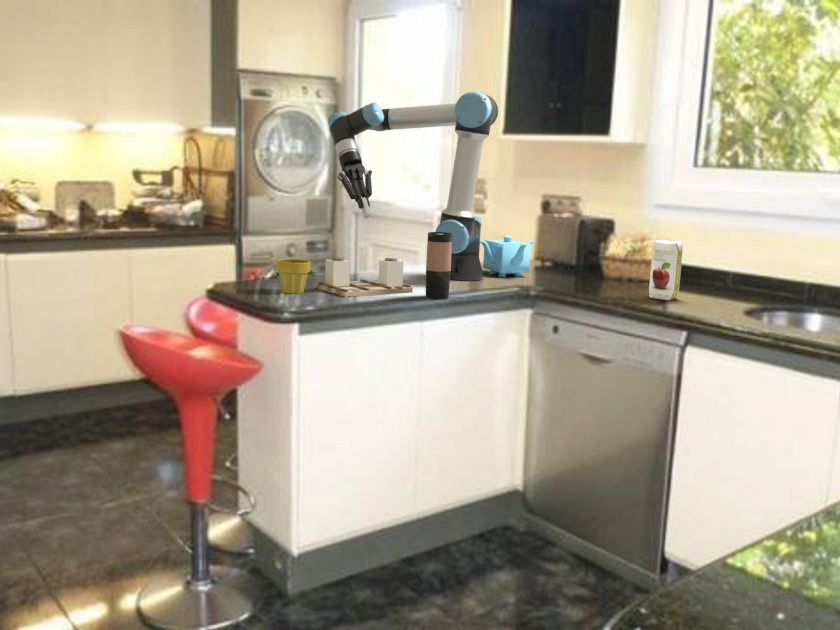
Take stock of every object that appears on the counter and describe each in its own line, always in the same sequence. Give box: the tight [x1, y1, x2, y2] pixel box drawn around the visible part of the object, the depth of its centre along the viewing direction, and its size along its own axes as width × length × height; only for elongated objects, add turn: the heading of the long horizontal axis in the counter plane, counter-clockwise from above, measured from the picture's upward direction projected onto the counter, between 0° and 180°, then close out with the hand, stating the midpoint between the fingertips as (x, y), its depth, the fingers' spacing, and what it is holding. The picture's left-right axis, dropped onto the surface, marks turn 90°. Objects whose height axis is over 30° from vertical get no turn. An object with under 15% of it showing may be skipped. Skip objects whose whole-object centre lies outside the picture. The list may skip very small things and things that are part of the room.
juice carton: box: [648, 239, 684, 301], centre depth 275 cm, size 8×9×19 cm
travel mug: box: [425, 231, 452, 300], centre depth 258 cm, size 8×8×20 cm
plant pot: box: [276, 258, 311, 294], centre depth 258 cm, size 10×10×10 cm
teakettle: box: [480, 235, 537, 278], centre depth 314 cm, size 19×19×15 cm
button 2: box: [377, 257, 404, 287], centre depth 269 cm, size 5×6×9 cm
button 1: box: [324, 256, 351, 287], centre depth 264 cm, size 5×6×9 cm
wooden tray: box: [315, 278, 414, 298], centre depth 267 cm, size 18×25×2 cm
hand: (367, 216), depth 286 cm, fingers closed
